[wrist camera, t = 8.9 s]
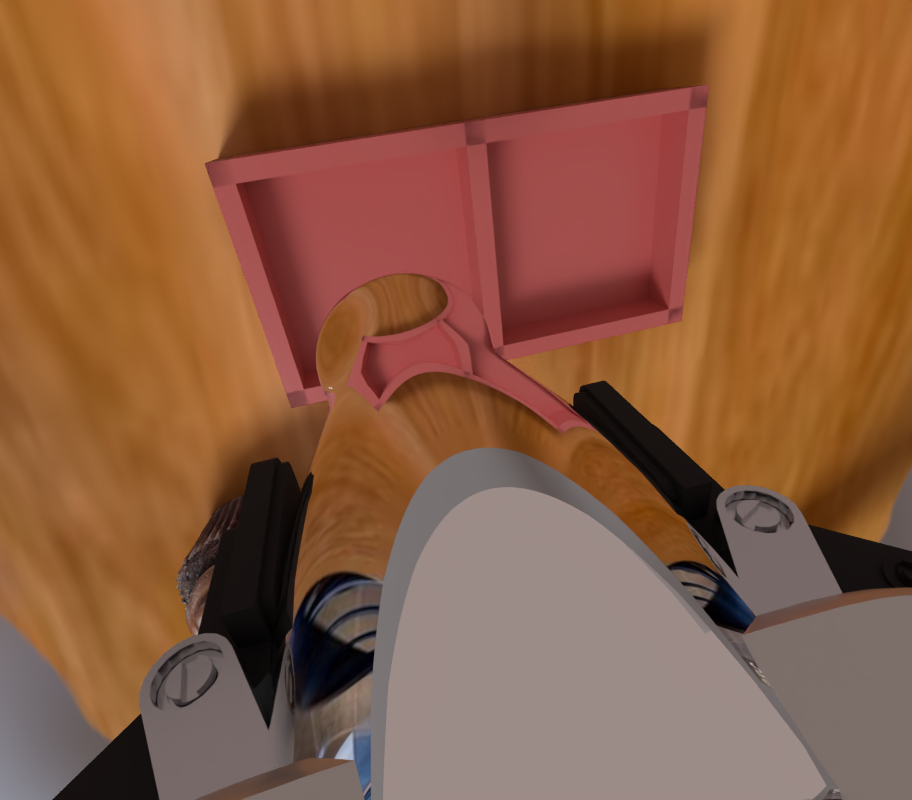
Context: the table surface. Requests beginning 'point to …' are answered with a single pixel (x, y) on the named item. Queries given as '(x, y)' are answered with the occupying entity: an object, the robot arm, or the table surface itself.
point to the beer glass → (505, 590)
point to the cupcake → (205, 562)
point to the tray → (477, 222)
